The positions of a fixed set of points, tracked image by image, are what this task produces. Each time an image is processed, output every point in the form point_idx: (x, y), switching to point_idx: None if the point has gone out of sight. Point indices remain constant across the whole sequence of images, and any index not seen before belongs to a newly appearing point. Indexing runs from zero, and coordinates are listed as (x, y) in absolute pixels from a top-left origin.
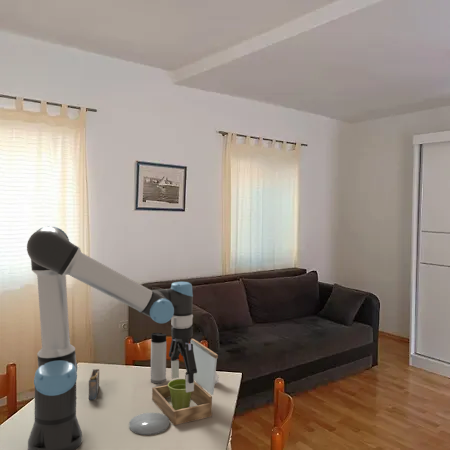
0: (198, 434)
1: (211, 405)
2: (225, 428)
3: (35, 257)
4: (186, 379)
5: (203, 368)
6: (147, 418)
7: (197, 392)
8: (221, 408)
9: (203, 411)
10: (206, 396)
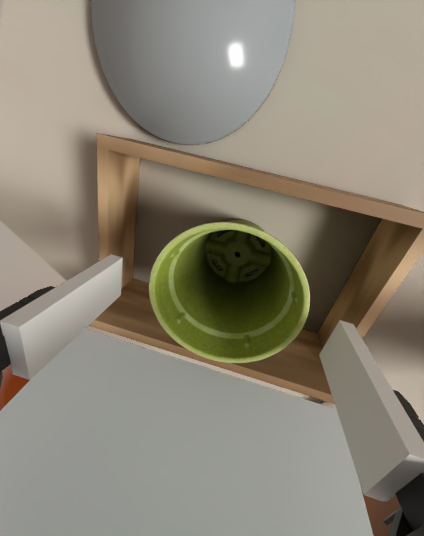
0: (42, 175)
1: None
2: (49, 262)
3: None
4: (49, 292)
5: (132, 457)
6: (222, 35)
7: None
8: None
9: None
10: (116, 317)
